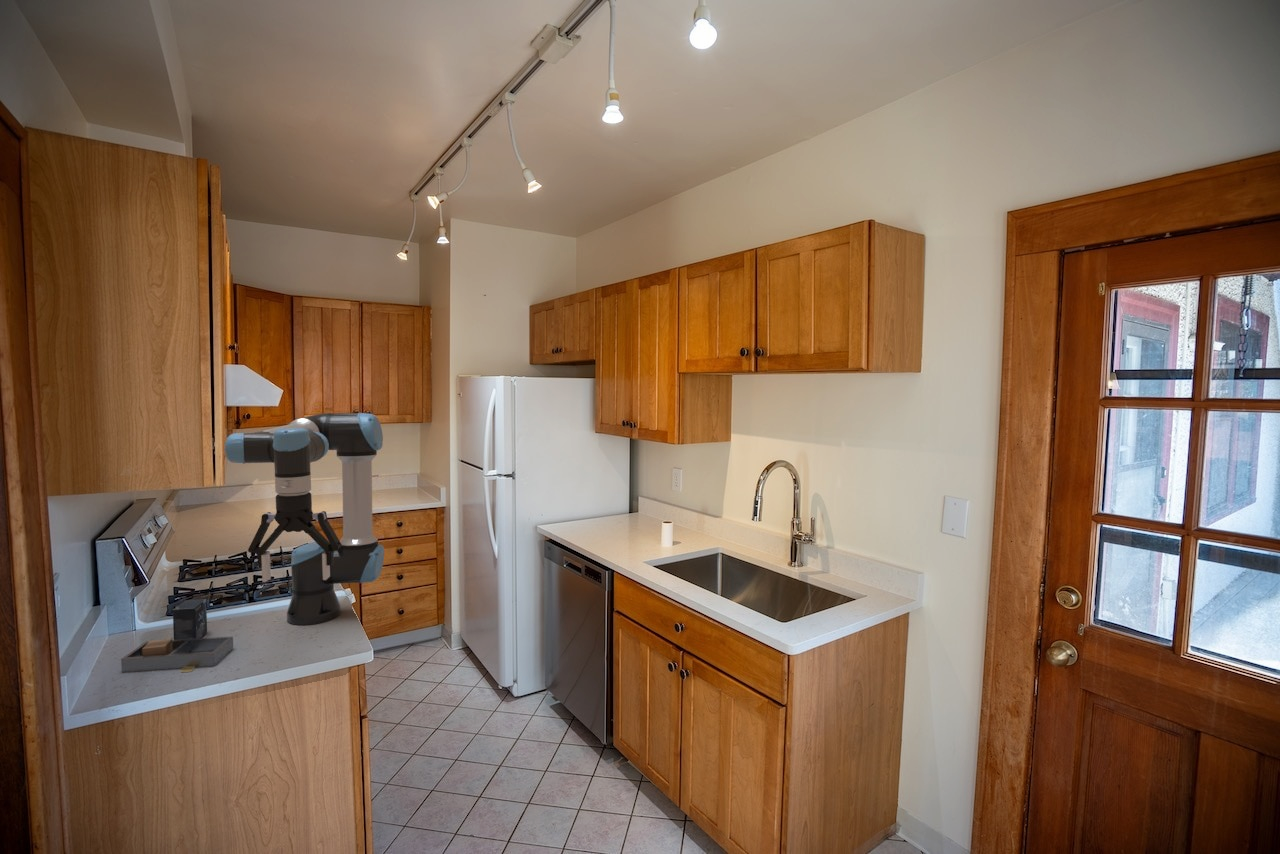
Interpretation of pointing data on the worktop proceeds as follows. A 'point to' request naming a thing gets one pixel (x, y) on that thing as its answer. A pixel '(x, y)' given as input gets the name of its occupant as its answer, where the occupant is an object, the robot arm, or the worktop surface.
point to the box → (190, 619)
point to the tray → (180, 655)
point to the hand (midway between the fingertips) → (296, 579)
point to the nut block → (157, 648)
